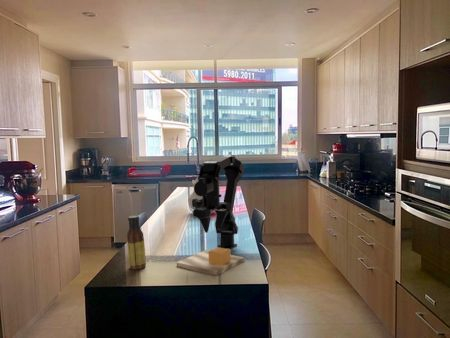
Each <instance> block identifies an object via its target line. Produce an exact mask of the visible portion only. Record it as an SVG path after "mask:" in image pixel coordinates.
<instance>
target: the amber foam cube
mask: <svg viewBox="0 0 450 338" xmlns="http://www.w3.org/2000/svg"><path fill="white" fill-rule="evenodd" d="M231 249H232V248H230V249H227V248H221V247H218V246H217V247H215V248H213V249H210V250H208V252H209V263H212V264H216V265H221V266H222V265H224V264H226V263H228V262H230V261H231V255H232V253H231V252H232V251H231Z"/></svg>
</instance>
